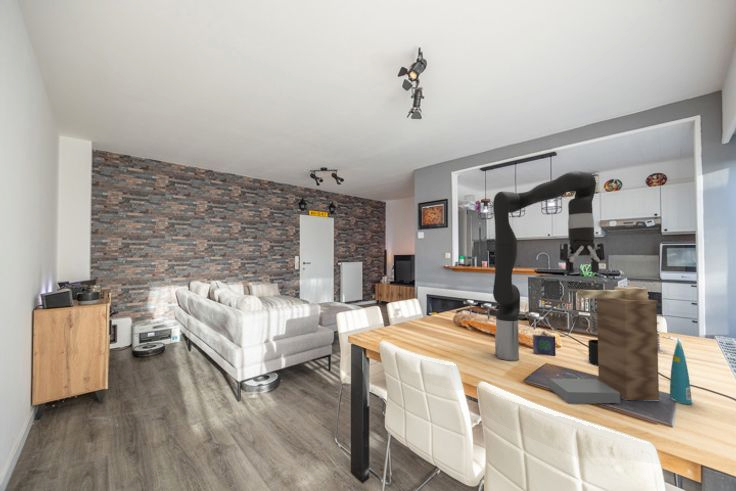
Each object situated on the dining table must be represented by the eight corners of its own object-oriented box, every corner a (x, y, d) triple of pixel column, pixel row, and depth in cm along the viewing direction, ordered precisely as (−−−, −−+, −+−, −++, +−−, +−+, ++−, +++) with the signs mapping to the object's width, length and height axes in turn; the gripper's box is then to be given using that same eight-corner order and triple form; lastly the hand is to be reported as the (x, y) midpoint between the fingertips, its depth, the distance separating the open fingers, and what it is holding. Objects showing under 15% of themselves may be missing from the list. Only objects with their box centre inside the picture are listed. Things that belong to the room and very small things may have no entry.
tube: (668, 394, 98) (666, 336, 99) (689, 398, 95) (687, 339, 96) (671, 402, 93) (669, 341, 93) (694, 408, 90) (692, 344, 90)
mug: (629, 368, 121) (628, 345, 121) (600, 368, 121) (600, 346, 121) (609, 359, 130) (609, 339, 131) (583, 360, 130) (582, 339, 130)
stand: (626, 401, 94) (624, 300, 94) (597, 383, 106) (595, 295, 107) (660, 401, 93) (658, 300, 94) (627, 384, 106) (625, 295, 107)
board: (568, 403, 92) (568, 392, 92) (549, 388, 102) (549, 378, 102) (620, 404, 92) (620, 392, 92) (596, 389, 102) (596, 379, 102)
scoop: (586, 299, 98) (586, 288, 98) (574, 296, 104) (574, 286, 104) (647, 299, 97) (647, 288, 98) (632, 296, 103) (631, 286, 104)
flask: (533, 354, 138) (533, 331, 138) (532, 352, 141) (532, 329, 141) (556, 356, 135) (556, 332, 135) (554, 354, 138) (554, 331, 138)
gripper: (568, 226, 101) (569, 273, 100) (609, 225, 101) (611, 273, 100) (554, 228, 109) (555, 272, 108) (592, 228, 108) (594, 272, 108)
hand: (582, 272), depth 104 cm, fingers open, 8 cm apart
